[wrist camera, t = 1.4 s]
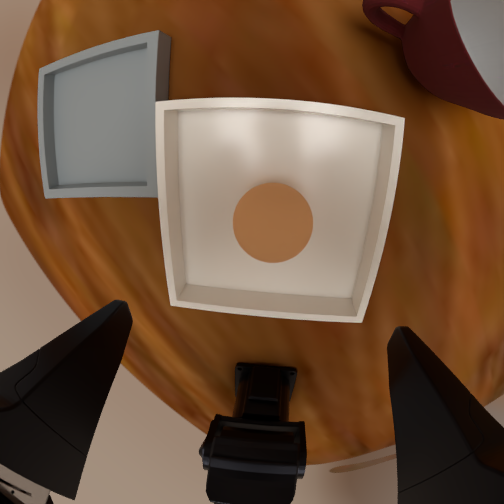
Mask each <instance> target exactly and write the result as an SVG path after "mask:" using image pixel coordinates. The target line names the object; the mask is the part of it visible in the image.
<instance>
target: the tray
mask: <svg viewBox="0 0 504 504" xmlns="http://www.w3.org/2000/svg"><path fill="white" fill-rule="evenodd" d="M170 47H171V37H170V36H168V35H166V34H165V33H163V32H161V31H159V30H158V31H153V32H148V33H143V34H139V35H134V36H130V37H126V38H123V39H119V40H115V41H112V42H108V43H105V44H102V45H99V46H96V47H93V48H90V49H87V50H84V51H81V52H78V53H76V54H73V55H71V56H68V57H65V58H63V59H61V60H58V61H56V62H54V63H51V64H49V65H47V66H45V67H43V68H40V69H39V80H38V138H39V153H40V164H41V173H42V180H43V188H44V194H45V198H70V197H158V186H157V167H156V132H155V103H156V102H159V101H168V89H169V64H170Z"/></svg>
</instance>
